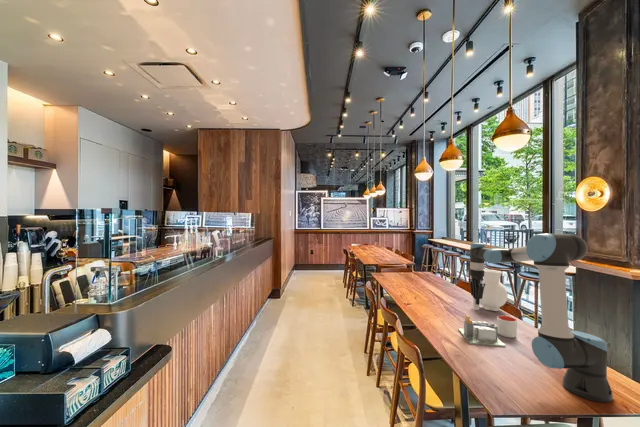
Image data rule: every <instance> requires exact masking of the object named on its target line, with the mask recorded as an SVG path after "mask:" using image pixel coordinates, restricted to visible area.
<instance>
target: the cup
mask: <svg viewBox="0 0 640 427" xmlns="http://www.w3.org/2000/svg"><path fill="white" fill-rule="evenodd" d="M496 318H497V321H496V326H497V327H498V334H497V335H499V336H501V337H504V338H511V339H512V338H516V337H517V334H518V333H517V332H518V319H517V318H514V317H512V316H507V315H498V316H496Z"/></svg>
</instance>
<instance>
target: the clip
mask: <svg viewBox="0 0 640 427" xmlns="http://www.w3.org/2000/svg"><path fill="white" fill-rule="evenodd" d="M464 316H465V317H464V318H465V319H464V321H466V322H467V323H468V324H472V321H473V320H472V319H471V316H469V315H468V314H465V315H464Z"/></svg>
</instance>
